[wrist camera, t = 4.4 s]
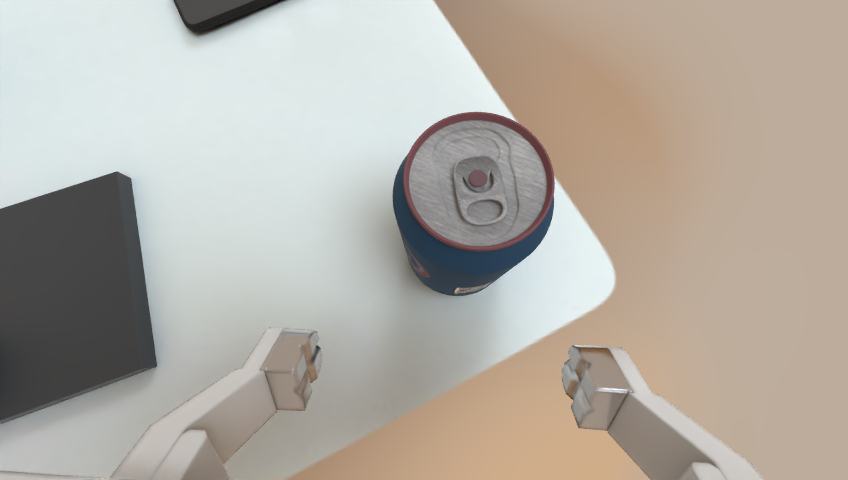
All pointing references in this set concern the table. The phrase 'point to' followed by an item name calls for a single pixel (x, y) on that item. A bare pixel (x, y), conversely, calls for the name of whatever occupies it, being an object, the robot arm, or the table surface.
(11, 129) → the table surface
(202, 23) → the smartphone
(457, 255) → the soda can
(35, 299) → the scale
